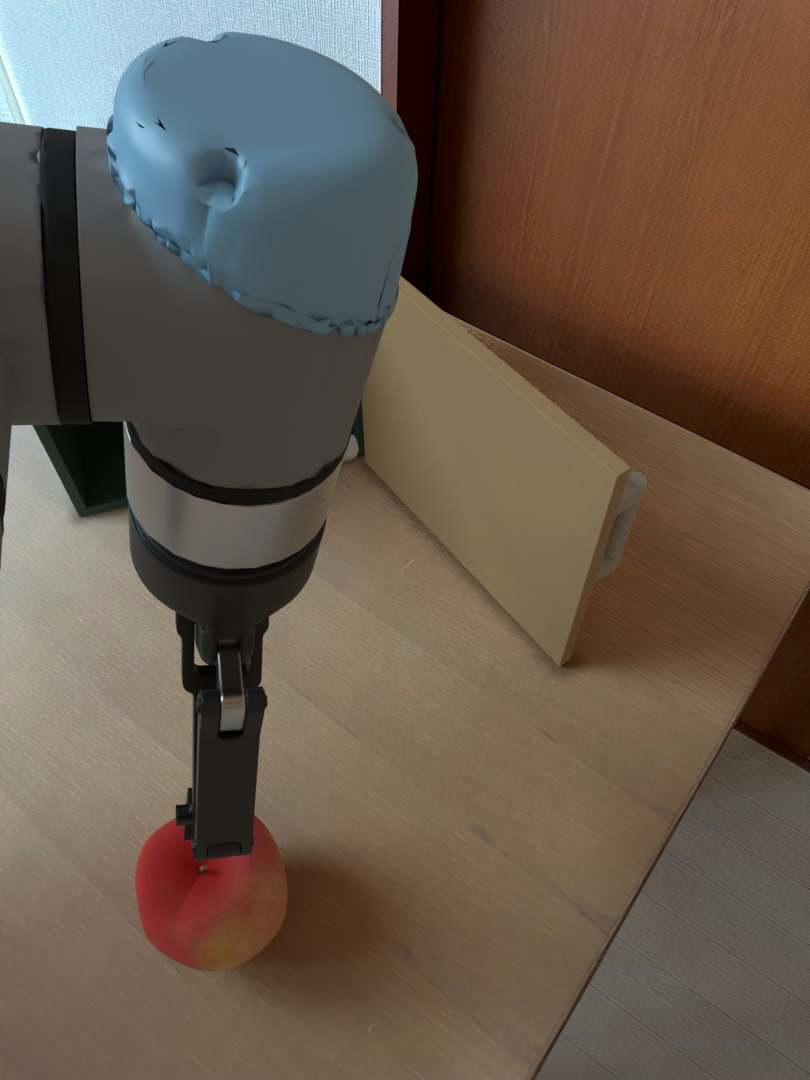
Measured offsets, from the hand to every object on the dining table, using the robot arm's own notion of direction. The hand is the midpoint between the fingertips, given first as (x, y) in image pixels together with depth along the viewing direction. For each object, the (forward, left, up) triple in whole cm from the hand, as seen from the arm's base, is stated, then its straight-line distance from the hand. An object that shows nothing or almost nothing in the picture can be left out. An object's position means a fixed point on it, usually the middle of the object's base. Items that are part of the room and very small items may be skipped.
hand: (203, 712), depth 48 cm
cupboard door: (+25, +19, -16) cm, 35 cm away
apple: (-2, -7, -16) cm, 18 cm away
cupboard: (+4, +40, -16) cm, 44 cm away
